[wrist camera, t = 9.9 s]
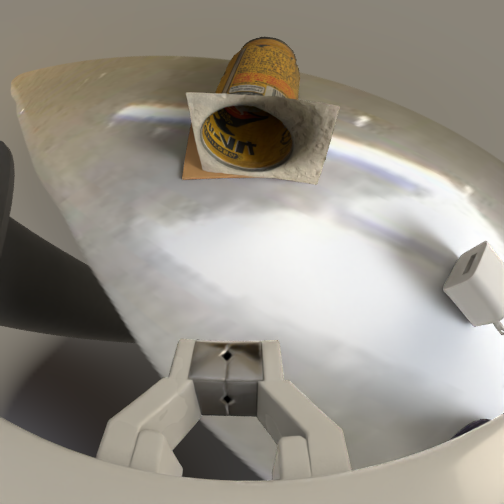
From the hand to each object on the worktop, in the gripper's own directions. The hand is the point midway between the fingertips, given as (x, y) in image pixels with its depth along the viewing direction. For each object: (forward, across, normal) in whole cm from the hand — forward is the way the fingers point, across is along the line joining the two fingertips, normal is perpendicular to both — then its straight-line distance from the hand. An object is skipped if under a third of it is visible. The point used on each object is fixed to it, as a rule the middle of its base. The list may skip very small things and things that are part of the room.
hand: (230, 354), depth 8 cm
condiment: (+12, +1, +5) cm, 13 cm away
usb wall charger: (+7, +18, -4) cm, 20 cm away
